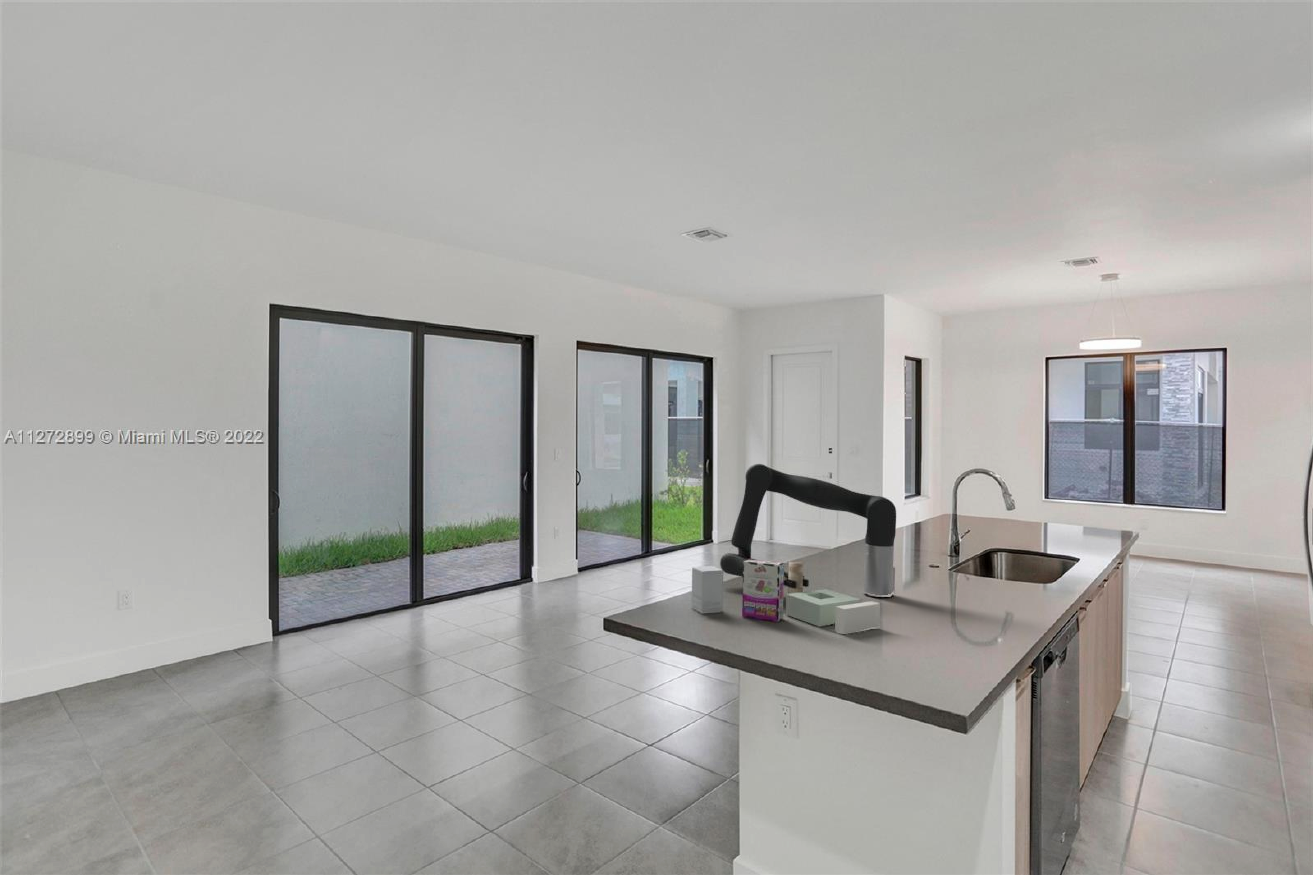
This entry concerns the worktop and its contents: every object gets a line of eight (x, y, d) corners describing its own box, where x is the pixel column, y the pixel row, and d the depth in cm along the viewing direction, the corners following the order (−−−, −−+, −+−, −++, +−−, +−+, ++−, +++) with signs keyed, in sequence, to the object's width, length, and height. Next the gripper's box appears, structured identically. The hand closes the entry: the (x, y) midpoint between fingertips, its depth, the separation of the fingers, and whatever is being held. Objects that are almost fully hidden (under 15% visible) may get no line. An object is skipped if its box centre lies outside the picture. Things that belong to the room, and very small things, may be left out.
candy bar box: (783, 618, 196) (785, 562, 196) (778, 622, 191) (779, 565, 191) (747, 613, 201) (748, 558, 201) (741, 616, 196) (742, 560, 196)
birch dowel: (795, 605, 211) (796, 561, 210) (805, 609, 207) (806, 563, 207) (784, 607, 208) (785, 562, 208) (794, 610, 205) (795, 565, 204)
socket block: (825, 608, 207) (826, 589, 207) (860, 619, 195) (860, 599, 195) (785, 614, 199) (786, 594, 199) (819, 626, 187) (819, 605, 187)
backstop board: (871, 625, 190) (871, 601, 190) (879, 628, 188) (880, 603, 188) (835, 632, 183) (835, 606, 183) (843, 635, 181) (844, 609, 181)
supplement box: (723, 612, 201) (724, 570, 201) (700, 614, 198) (702, 571, 198) (712, 606, 208) (713, 565, 208) (690, 608, 205) (691, 566, 205)
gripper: (748, 563, 216) (784, 574, 201) (782, 560, 223) (819, 570, 209) (748, 587, 216) (783, 599, 202) (782, 582, 224) (818, 594, 209)
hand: (801, 584), depth 205 cm, fingers closed on birch dowel, 4 cm apart
